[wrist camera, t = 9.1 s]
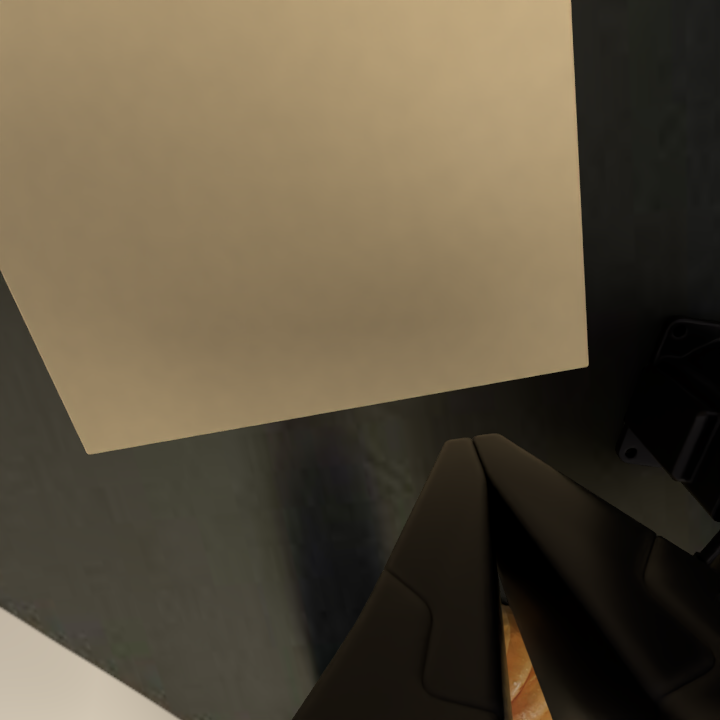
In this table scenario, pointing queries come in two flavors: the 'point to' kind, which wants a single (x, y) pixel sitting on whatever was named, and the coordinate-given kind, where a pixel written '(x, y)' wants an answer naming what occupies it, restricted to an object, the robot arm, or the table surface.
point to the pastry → (522, 675)
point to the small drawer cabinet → (287, 204)
